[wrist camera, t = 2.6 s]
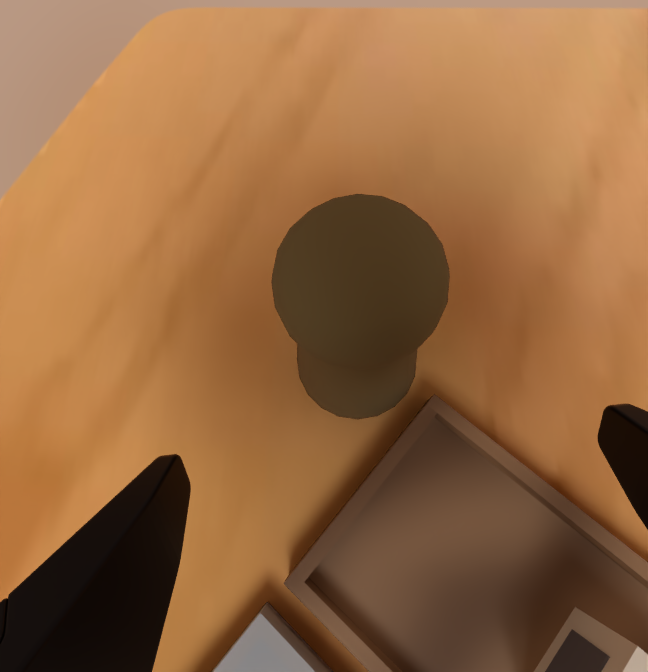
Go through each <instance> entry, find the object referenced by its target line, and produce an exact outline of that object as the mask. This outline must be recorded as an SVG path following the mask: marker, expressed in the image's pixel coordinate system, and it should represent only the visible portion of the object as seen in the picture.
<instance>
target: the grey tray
mask: <svg viewBox="0 0 648 672" xmlns="http://www.w3.org/2000/svg"><path fill="white" fill-rule="evenodd" d="M212 672H333V670H332V669H331V668H330V667H329V666H328V665H327V664H326V663H325V662H324V661H323V660H322V659H321V658H320V657H319V656H318V655H317V654H316V653H315V651H314V650H313V649H312V648H311V647H310V646H309V645H308V644H307V643H306V642H305V641H304V640H303V639H302V638H301V637H300V636H299V635H298V633H297V632H296V631H295V630H294V629H293V628H292V627H291V626H290V625H289V624H288V623H287V622H286V621H285V620H284V619H283V618H282V617H281V616H280V614H279V613H278V612H277V611H276V610H275V609H274V608H273V607H272V606H271V605H270V604H269V603H268V602H267V603H266V604H265V605H264V606H263V608H262V609H261V610H260V611H259V613H258V614H257V615H256V616H255V618H254V619H253V620H252V621H251V623H250V624H249V625H248V626H247V628H246V629H245V630H244V631H243V633H242V634H241V635H240V636H239V638H238V639H237V640H236V641H235V643H234V644H233V645H232V647H231V648H230V649H229V650H228V652H227V653H226V654H225V655H224V657H223V658H222V659H221V660H220V662H219V663H218V664H217V665H216V667H215V668H214V669H213V670H212Z"/></svg>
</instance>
